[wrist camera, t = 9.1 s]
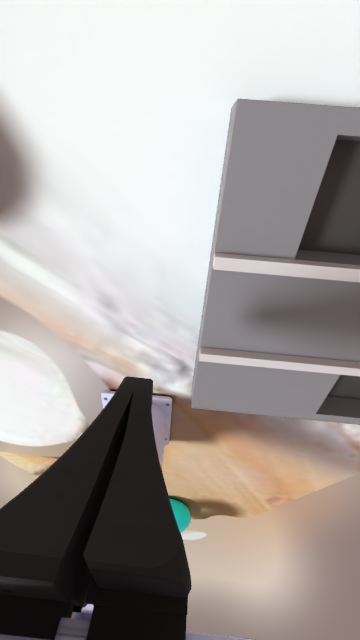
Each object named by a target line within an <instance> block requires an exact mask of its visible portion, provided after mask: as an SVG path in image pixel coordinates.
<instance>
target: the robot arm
mask: <svg viewBox="0 0 360 640" xmlns="http://www.w3.org/2000/svg"><path fill="white" fill-rule="evenodd" d="M152 393H153V381H152V380H151V379H145V378H136V377H125V378H124V379H123V381H122V383H121V384H120V386H119V388H118V389H117V391H116V392H115V391H103V392H102V394H101V397H102V402H103V408H104V409H103V410H102V411H101V413H100V414H99V415H98V416H97V418H96V419H95V420H94V421H93V422H92V424H91V425H90V426H89V427H88V428H87V430H86V431H85V432H84V433H83V434H82V435H81V436H80V437H79V438H78V440H77V441H76V442H75V443H74V444H73V445H72V446H71V447H70V448H69V449H68V450H67V451H66V452H65V453H64V454H63V455H62V456H61V457H60V458H59V459H58V460H57V461H56V462H55V463H54V464H53V465H51V466H50V467H49V468H48V469H47V470H46V471H45V472H44V473H43V474H42V475H40V476H39V477H38V478H37V479H36V480H35V481H34V482H33V483H31V484H30V485H29V486H28V487H27V488H25V489H24V491H22V492H21V493H20V494H18V495H17V496H16V497H15V498H13V499H12V500H11V501H9V502H8V503H7V504H6V505H4V506H3V507H2V508H1V509H0V640H255V639H247V638H238V637H229V636H220V635H212V634H202V633H195V632H186V615H187V601H188V600H187V599H188V594H189V592H190V590H191V577H190V571H189V566H188V562H187V557H186V553H185V548H184V544H183V540H182V536H181V534H180V531H179V528H178V525H177V522H176V519H175V516H174V513H173V509H172V506H171V503H170V500H169V496H168V492H167V489H166V485H165V482H164V478H163V474H162V470H161V469H162V461H163V452H164V445H168V444H169V437H170V424H171V411H172V398H170V397H166V396H156V395H152Z"/></svg>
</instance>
